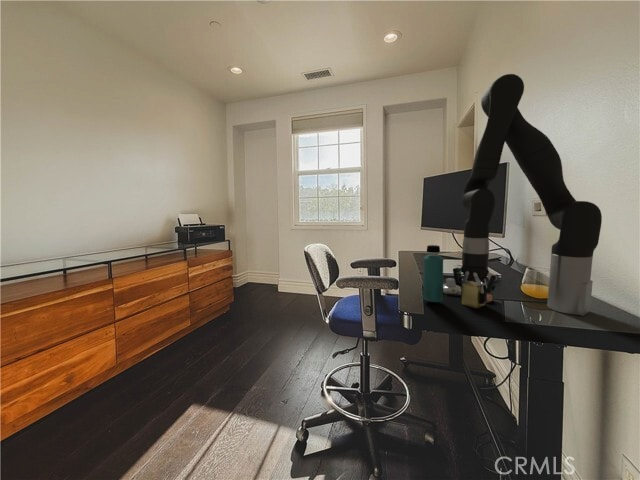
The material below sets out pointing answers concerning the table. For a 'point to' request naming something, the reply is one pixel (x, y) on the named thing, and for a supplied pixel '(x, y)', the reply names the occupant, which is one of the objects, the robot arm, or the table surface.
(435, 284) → the beverage bottle
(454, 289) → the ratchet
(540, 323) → the table surface
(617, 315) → the table surface
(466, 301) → the beige rounded cube
